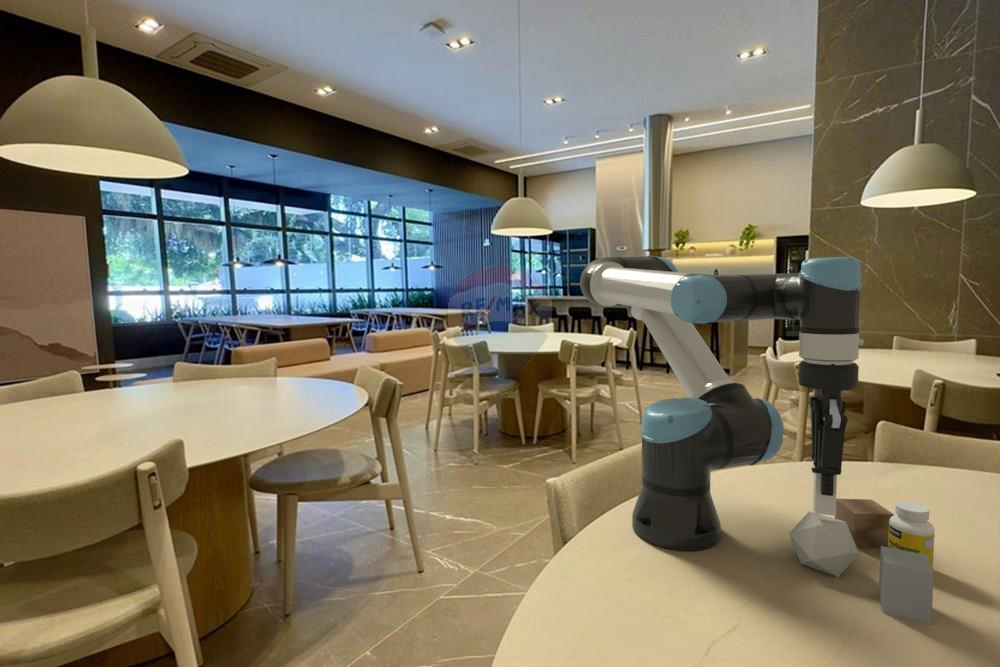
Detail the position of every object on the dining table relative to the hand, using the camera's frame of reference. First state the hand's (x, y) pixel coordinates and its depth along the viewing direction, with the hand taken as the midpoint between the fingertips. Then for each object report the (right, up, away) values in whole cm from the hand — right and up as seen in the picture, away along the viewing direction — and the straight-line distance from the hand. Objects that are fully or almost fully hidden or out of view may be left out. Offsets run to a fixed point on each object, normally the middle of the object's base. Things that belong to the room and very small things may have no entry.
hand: (824, 512), depth 78 cm
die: (0, -9, +1) cm, 9 cm away
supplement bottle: (+13, -9, 0) cm, 16 cm away
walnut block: (+12, -8, +9) cm, 17 cm away
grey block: (+5, -10, -10) cm, 14 cm away
